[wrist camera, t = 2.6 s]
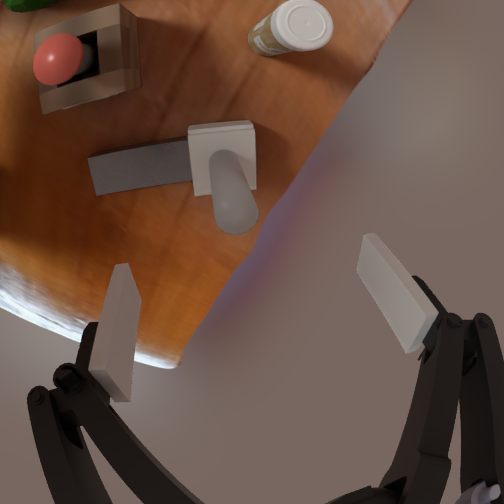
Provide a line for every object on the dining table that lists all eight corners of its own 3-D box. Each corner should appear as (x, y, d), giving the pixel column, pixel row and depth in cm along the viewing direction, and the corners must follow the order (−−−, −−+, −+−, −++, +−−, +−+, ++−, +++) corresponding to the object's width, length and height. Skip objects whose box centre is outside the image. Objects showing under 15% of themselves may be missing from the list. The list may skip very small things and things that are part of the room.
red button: (72, 83, 22) (35, 92, 16) (69, 46, 19) (31, 44, 13) (110, 72, 22) (81, 75, 16) (107, 34, 20) (77, 25, 13)
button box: (72, 105, 27) (42, 117, 20) (66, 37, 21) (34, 33, 15) (142, 88, 28) (125, 93, 21) (136, 16, 22) (119, 3, 16)
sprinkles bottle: (251, 59, 28) (282, 52, 17) (243, 24, 25) (270, -2, 14) (289, 54, 28) (339, 49, 17) (283, 19, 25) (330, -4, 15)
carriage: (195, 186, 36) (195, 264, 23) (188, 125, 31) (180, 169, 18) (250, 180, 37) (283, 253, 24) (248, 120, 32) (285, 159, 19)
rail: (100, 189, 34) (96, 195, 32) (92, 153, 31) (87, 158, 29) (253, 168, 36) (256, 173, 34) (252, 130, 33) (255, 133, 32)
